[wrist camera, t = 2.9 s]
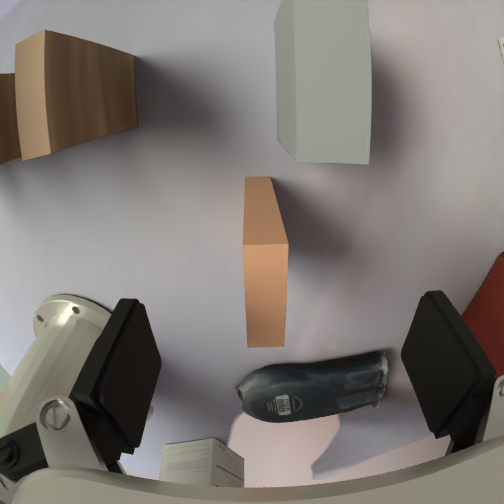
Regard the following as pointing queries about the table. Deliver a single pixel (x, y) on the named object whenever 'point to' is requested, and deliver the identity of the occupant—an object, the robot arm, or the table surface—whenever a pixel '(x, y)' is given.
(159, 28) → the table surface
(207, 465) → the supplement box
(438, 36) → the table surface
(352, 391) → the electronic device
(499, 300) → the plant pot
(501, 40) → the skincare box
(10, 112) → the domino
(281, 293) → the domino end
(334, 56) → the block
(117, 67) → the domino
